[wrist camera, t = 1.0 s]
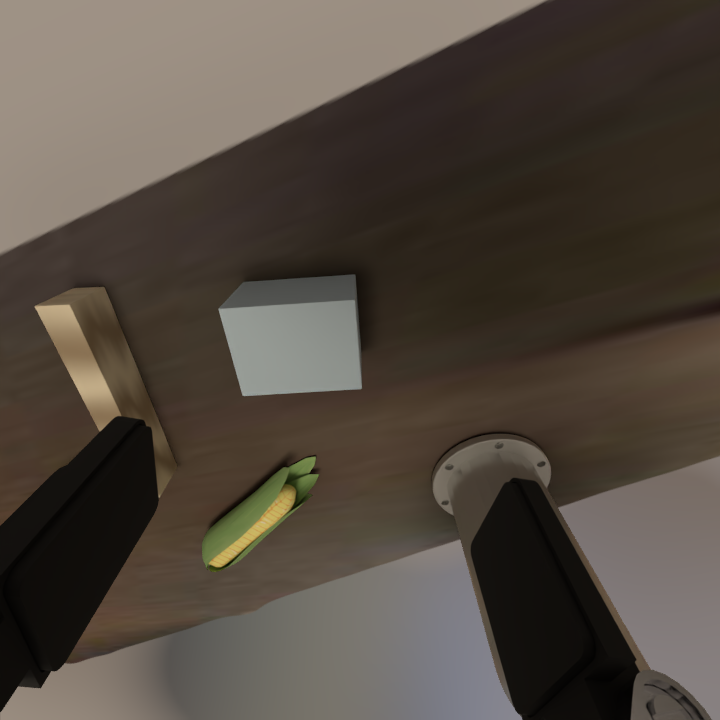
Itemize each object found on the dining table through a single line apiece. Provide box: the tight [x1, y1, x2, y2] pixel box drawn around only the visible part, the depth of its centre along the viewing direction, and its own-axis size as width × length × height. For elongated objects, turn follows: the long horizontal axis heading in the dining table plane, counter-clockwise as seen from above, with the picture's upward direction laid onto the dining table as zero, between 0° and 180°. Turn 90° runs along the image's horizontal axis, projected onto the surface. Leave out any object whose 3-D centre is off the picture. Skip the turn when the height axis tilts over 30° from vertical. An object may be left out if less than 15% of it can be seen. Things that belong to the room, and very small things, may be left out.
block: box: [219, 274, 362, 396], centre depth 28 cm, size 7×9×6 cm
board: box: [35, 287, 177, 497], centre depth 32 cm, size 20×2×4 cm, turn 2°
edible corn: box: [202, 456, 319, 572], centre depth 40 cm, size 5×20×5 cm, turn 138°
